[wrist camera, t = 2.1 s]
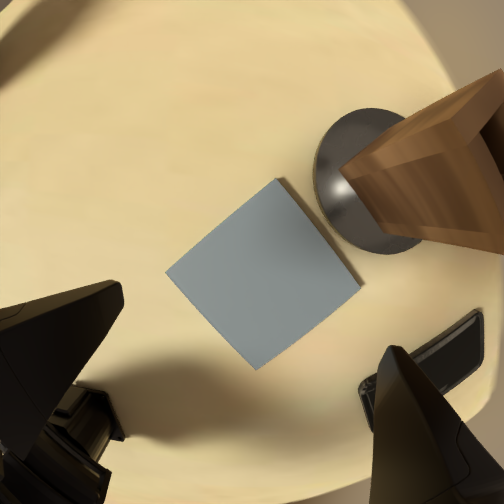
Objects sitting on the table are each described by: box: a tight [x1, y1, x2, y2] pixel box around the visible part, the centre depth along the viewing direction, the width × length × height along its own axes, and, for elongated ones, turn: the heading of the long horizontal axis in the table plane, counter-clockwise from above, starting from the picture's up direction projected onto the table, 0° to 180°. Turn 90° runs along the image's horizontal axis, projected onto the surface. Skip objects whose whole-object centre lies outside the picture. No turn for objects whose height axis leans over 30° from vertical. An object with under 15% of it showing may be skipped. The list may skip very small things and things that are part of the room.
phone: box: [358, 310, 484, 433], centre depth 21 cm, size 8×1×15 cm
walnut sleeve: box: [338, 69, 504, 255], centre depth 12 cm, size 6×6×12 cm
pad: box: [165, 178, 361, 370], centre depth 20 cm, size 10×10×1 cm
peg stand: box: [313, 108, 423, 255], centre depth 17 cm, size 11×11×4 cm
